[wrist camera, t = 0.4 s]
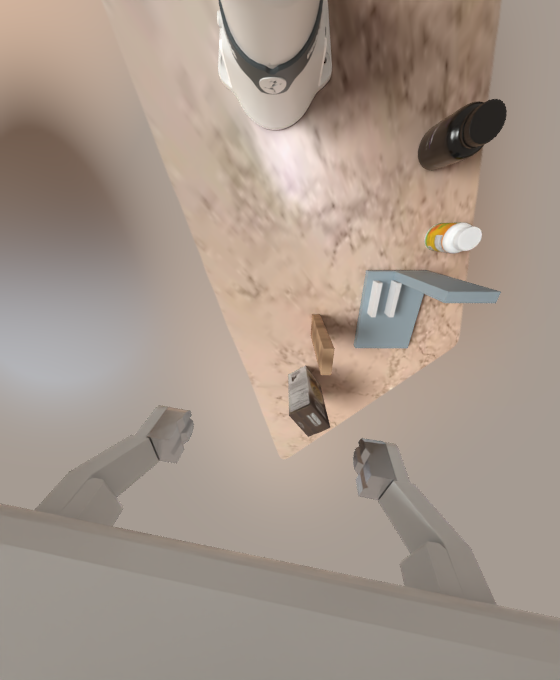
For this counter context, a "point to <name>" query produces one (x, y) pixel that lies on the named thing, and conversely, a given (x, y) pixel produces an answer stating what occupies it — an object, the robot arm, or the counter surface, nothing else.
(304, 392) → the coffee box
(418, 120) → the counter surface
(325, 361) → the door panel
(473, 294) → the blue-grey l-shaped stand
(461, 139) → the supplement bottle
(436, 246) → the supplement bottle
